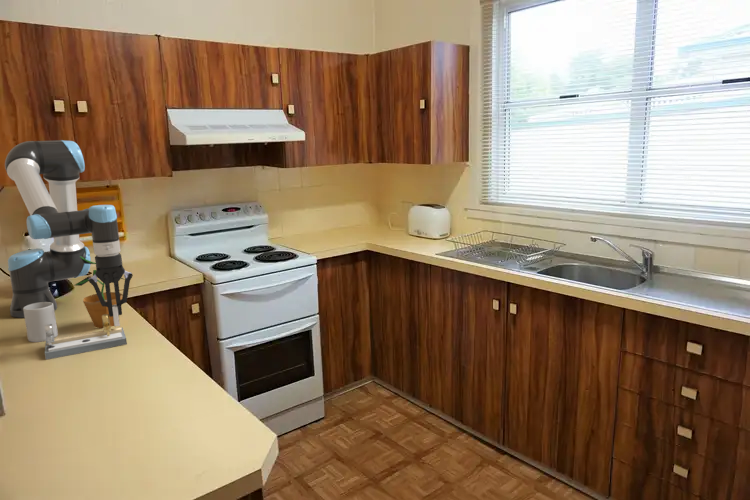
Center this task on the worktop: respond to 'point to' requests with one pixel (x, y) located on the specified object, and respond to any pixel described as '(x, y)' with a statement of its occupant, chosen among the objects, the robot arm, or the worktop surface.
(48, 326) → the fixed leg
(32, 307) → the mug
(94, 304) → the potted plant
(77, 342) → the board
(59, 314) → the worktop surface
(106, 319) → the brass slider pointer
